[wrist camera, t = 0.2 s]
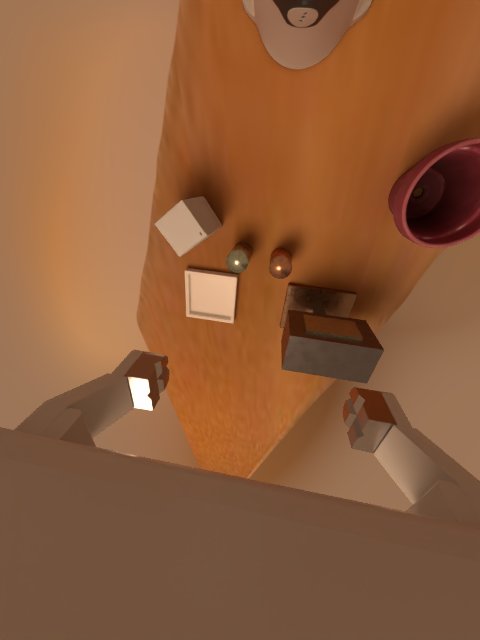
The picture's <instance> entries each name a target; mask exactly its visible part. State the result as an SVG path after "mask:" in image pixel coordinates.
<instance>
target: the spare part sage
mask: <svg viewBox="0 0 480 640" xmlns="http://www.w3.org/2000/svg"><path fill="white" fill-rule="evenodd" d="M251 255H252V250H251V248H250V246H249V245H248V244H246V243H239V244H237V245H236V246H235V247H234V248H233V250H232V251H231V253H230V254H229V255H228V257H227V260H226V263H227V267H228V268H229V269H230V270H231V271H232V272H235V273H241V272H243V271H244V270H245V269H246V268H247V266H248V263H249V261H250V258H251Z"/></svg>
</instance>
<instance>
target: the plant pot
mask: <svg viewBox="0 0 480 640" xmlns="http://www.w3.org/2000/svg"><path fill="white" fill-rule="evenodd" d="M419 187H422V188H423V194H422V196H421V197H419V198H414V197H413V192H414V190H415V189H416V188H419ZM388 203H389V208H390V211H391V212H392V214H393V215H394V221H395V224H396V227H397V228H398V230H399V231H400V233H401V234H402V235H403V236H404V237H406V238H407V239H409V240H411V241H412V242H414V243H416V244H419V245H422V246H425V247H430V248H441V247H448V246H452V245H456V244H459V243H461V242H464V241H466V240H468V239H470V238H472V237H474V236H475V235H477V234H478V233H480V138H473V139H467V140H461V141H457V142H453V143H450V144H447V145H445V146H442V147H440V148H438V149H436V150H435V151H433V152H431V153H430V154H429V155H427V156H426V157H424V158H423V159H422V160H421V161H420V162H419V163H417V164H416V165H415V166H414V167H413V168H412V169H410V170H409V171H407V172H406V173H404V174H403V175H402V176H401V177H400V178H399V179H398V180H397V181H396V182H395V184H394V186H393V187H392V189H391V192H390V195H389V201H388Z"/></svg>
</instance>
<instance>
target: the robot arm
mask: <svg viewBox="0 0 480 640" xmlns="http://www.w3.org/2000/svg"><path fill="white" fill-rule="evenodd" d="M371 2H372V0H242V3H243V7H244V10H245V11H246V13H247V14H248V15H249V17H250V18H251V19H252V20H253V21H254V22H255V23H256V25H257V28H258V30H259V33H260V36H261V39H262V41H263V44H264V46H265V48H266V50H267V51H268V53H269V54H270V55H271V57H272V58H273V59H274V60H275V61H276V62H278V63H279V64H280V65H282V66H284V67H287V68H290V69H304V68H308V67H311V66H313V65H315V64H317V63H318V62H320V61H321V60H323V59H324V58H325V57H326V56H327V55H328V54H329V53H330V52H331V51H332V50H333V49H334V48H335V46H336V45H337V44H338V42H339V41H340V39H341V38H342V36H343V35H344V34H345V32H346V31H347V30H348V29H349V27H351V26H352V25H353V24H355V23H356V22H357V21H359V20H360V19H361V18H362V17H363V16H364V15H365V14H366V13H367V12H368V10H369V8H370V5H371ZM167 364H168V357H167V356H166V355H161V354H155V353H150V352H143V351H139V350H133V351H131V352H130V354H129V355H128V356H127V357H126V358H125V359H124V360H123V361H122V362H121V364H120V365H119V366H118V367H117V368H116V369H115V370H114V372H112V374H106V375H103V376H101V377H99V378H97V379H94V380H92V381H90V382H88V383H85V384H83V385H81V386H79V387H76V388H74V389H72V390H70V391H67V392H65V393H63V394H61V395H58V396H56V397H54V398H52V399H50V400H47V401H45V402H44V403H43V404H42V405H41V406H39V407H38V408H37V409H36V410H35V411H34V412H33V413H32V414H31V415H30V416H29V417H28V418H26V419H25V420H24V421H23V422H22V423H21V424H20V425H19V426H18V427H17V428H16V429H14V430H10V429H6V428H1V427H0V640H480V481H479V480H478V479H476V478H475V477H474V476H473V475H472V474H470V473H469V472H468V471H467V470H466V469H464V468H463V467H462V466H461V465H459V464H458V463H457V462H456V461H455V460H454V459H452V458H451V457H450V456H449V455H447V454H446V453H445V452H444V451H443V450H442V449H440V448H439V447H438V446H437V445H435V444H434V443H433V442H432V441H431V440H429V439H428V438H427V437H426V436H425V435H423V434H422V433H421V432H420V431H419V430H417V429H414V428H412V426H411V424H410V422H409V421H408V419H407V417H406V415H405V413H404V412H403V410H402V408H401V406H400V405H399V403H398V401H397V399H396V397H395V396H394V395H393V394H392V393H388V392H381V391H374V390H368V389H361V388H355V387H354V388H353V389H351V391H350V393H349V394H350V397H351V398H350V399H348V400H346V402H345V404H344V407H343V418H344V422H345V424H346V425H347V426H348V427H349V428H350V429H349V431H348V437H349V440H350V444H351V448H352V449H357V450H361V451H366V452H370V453H374V456H375V457H376V458H377V459H378V461H379V462H380V463H381V464H382V466H383V467H384V468H385V469H386V471H387V472H388V473H389V474H390V476H391V477H392V478H393V480H394V481H395V482H396V483H397V485H398V486H399V487H400V488H401V490H402V491H403V492H404V494H405V495H406V496H407V497H408V499H409V500H410V501H411V502H412V504H413V505H412V506H411V507H410V508H409V509H408V510H407V511H401V510H396V509H391V508H386V507H381V506H377V505H372V504H367V503H362V502H357V501H353V500H348V499H343V498H338V497H333V496H328V495H324V494H319V493H314V492H309V491H304V490H300V489H294V488H290V487H285V486H280V485H275V484H271V483H266V482H261V481H256V480H251V479H246V478H242V477H237V476H232V475H227V474H222V473H217V472H213V471H208V470H203V469H198V468H192V467H188V466H183V465H179V464H174V463H169V462H164V461H159V460H155V459H150V458H145V457H140V456H136V455H131V454H126V453H121V452H116V451H111V450H107V449H102V448H97V447H96V446H95V443H94V441H93V437H95V436H96V435H98V434H99V433H100V432H102V431H103V430H105V429H106V428H107V427H109V426H110V425H111V424H113V423H114V422H116V421H117V420H119V419H120V418H121V417H123V416H124V415H126V414H127V413H128V412H130V411H131V410H133V408H140V409H146V410H153V409H154V408H155V406H156V404H157V402H158V400H159V399H160V396H159V393H161V392H162V391H164V390H165V388H166V386H167V383H168V380H169V369H168V368H167V367H166V365H167Z"/></svg>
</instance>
